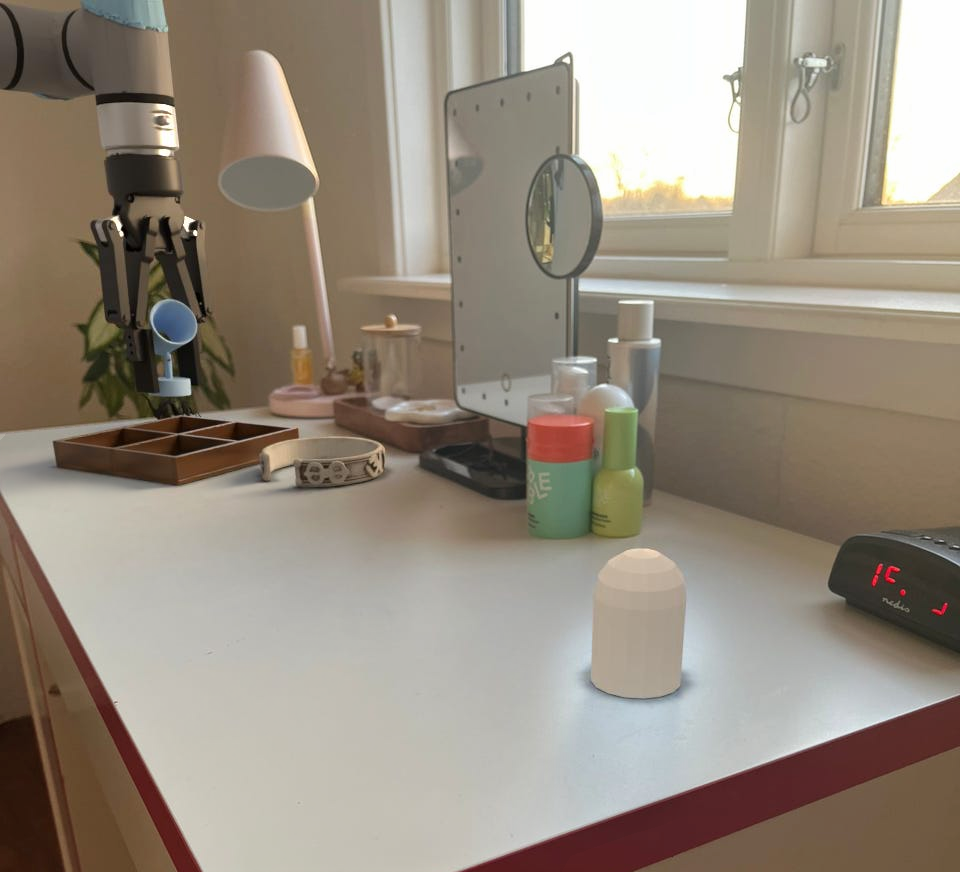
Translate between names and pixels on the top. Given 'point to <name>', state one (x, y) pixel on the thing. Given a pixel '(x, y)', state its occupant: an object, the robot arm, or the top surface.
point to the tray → (171, 448)
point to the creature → (163, 409)
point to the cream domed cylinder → (638, 625)
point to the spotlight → (180, 330)
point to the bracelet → (325, 460)
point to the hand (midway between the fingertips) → (170, 388)
